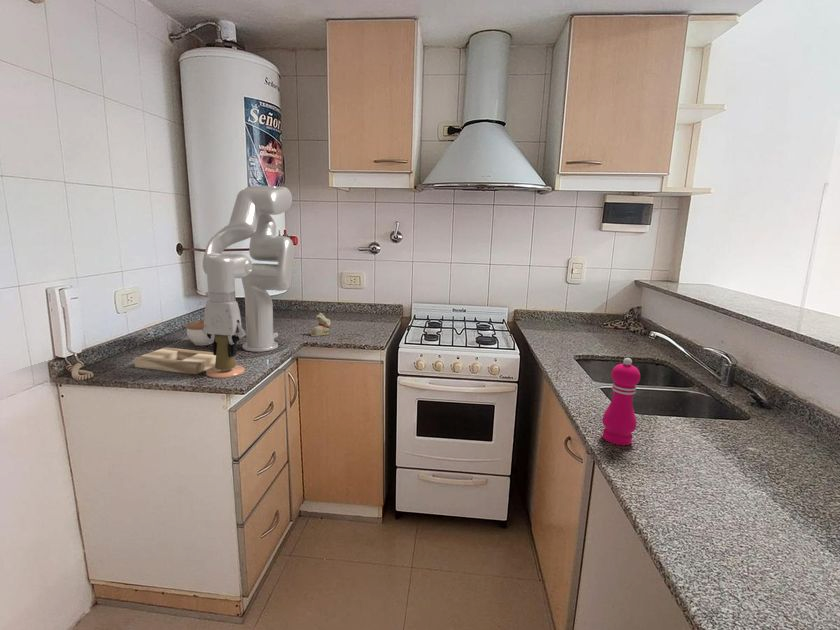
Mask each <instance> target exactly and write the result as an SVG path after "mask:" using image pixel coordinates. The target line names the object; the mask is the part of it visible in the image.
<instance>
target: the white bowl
mask: <svg viewBox="0 0 840 630" xmlns="http://www.w3.org/2000/svg"><path fill="white" fill-rule="evenodd" d="M185 327H186V333H187V337H188V339H189V341H190V342H191V343H193V344H194V346H208V345H212V343H211V341H210V339H209V338H208V337H207V335H206V334H205V333H203V332H202V330H203V328H204V318H201V319H199V321H192V322H189V323H186V324H185Z"/></svg>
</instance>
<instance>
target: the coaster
mask: <svg viewBox="0 0 840 630" xmlns="http://www.w3.org/2000/svg"><path fill="white" fill-rule="evenodd" d="M205 371H206V373H205V374H206V376H207V377H210V378H214V379H227V378H233V377H238V376H240V375H242V374H243V373H245V372H246V371H245V367H244V366H242V365H240V364H239V365H238V364H236V366H235V367H234V368H231V369H225V370H220V369H216V368H215V366H213V367H211V368H209V369H207V370H205Z"/></svg>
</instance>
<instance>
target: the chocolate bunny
mask: <svg viewBox="0 0 840 630" xmlns="http://www.w3.org/2000/svg"><path fill="white" fill-rule="evenodd" d="M315 319H316V320H317V322H318V325H315V326H314V327H313V328H312V330H311V332H310V333H309V336H310V335H325V334H329V331H330V329H331V328H330V327H331V325H332V324H331V319H329V318H326V316H325V315H324V314H323V313H321V312H319V313H318V314H317V315H315Z"/></svg>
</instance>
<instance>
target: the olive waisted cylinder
mask: <svg viewBox="0 0 840 630" xmlns="http://www.w3.org/2000/svg"><path fill="white" fill-rule="evenodd" d="M232 337H233V336H232ZM215 341H216V343H217V351H216V362H215V366H214V367H215V368H216V369H220V370H225V369H231V368H234V367H235V366H236V365H237V364H236V359H235V355H234V356H232V357H229V356H228V345H229V344H230V343H229V339H228V336H224V335H215Z"/></svg>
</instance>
